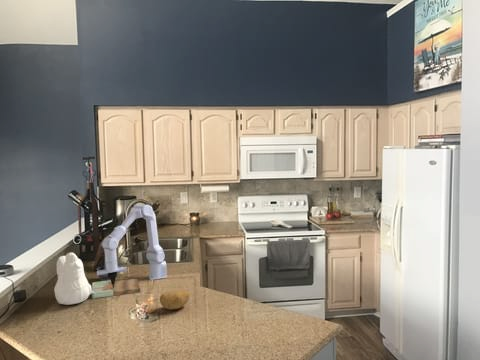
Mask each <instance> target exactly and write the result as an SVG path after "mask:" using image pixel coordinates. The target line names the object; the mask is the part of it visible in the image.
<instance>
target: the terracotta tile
mask: <svg viewBox="0 0 480 360" xmlns="http://www.w3.org/2000/svg"><path fill="white" fill-rule="evenodd" d="M112 287H113V285H112V283H111V281H109V282H108V283H107V284H106V285H105V286H104V287H103V290H104V291H107V290H109V289H111V288H112Z"/></svg>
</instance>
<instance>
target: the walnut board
mask: <svg viewBox="0 0 480 360" xmlns="http://www.w3.org/2000/svg"><path fill="white" fill-rule="evenodd" d="M137 293H141V287H140V284H139V280H138V278H131V279H125V280H124V279H123V280H115V283H114V287H113V295H114V296H113V297H116V296H123V295H129V294H130V295H131V294H137Z"/></svg>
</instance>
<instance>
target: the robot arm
mask: <svg viewBox="0 0 480 360" xmlns="http://www.w3.org/2000/svg"><path fill="white" fill-rule="evenodd" d="M153 209H154V208H153V207H152V206H151V205H149V204H139V203H136V204H134V205H133V207H131V209H130V212H129V213H128V214H127V216H126V217H125V218H124V220H123V221H122V223H121V225H117V226H115V227H114V229H113V231H111V233H110V234H108V235H109V236H108V235H107V236H108V238H106V237H104V238H105V239H104V238H103V239H104V240H103V239H102V240H103V243H102V247H103V248H104V251H105V264H106V269H104V270H100V271H96V276H97V277H99V275H103V274H108V277H109V279H110V280H111V283H112V285H113V287H114V283H115V281H116V279H117V277H118V273H124V272H127V271H128V270H127V268H128V267H127V266H121V267H120V266H118V258H117V257H118V255H117V248H118V247H119V243H120V241H121V239H122V238H123V237H124V236H125V235H126V233H127V229H128V227H130V226H131V224H132V223H133V222H135V220H136V219H140V218H143V220H145V223H146V224H145V225H146V232H147V240H148V241H147V242H148V247H147V248H146V255H145V256H146V259H147V260H148V263H149V274H148V279H149V280H150V281H153V280H159V279H167V278H168V275H167V273H168V270H167V269H168V267H167V262H166V260H165V257H166V256H165V252H164V249H163V247H161V245H160V244H159V233H158V226H157V225H158V224H157V217H156V213H155V212H154V210H153Z"/></svg>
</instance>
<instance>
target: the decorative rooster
mask: <svg viewBox="0 0 480 360" xmlns="http://www.w3.org/2000/svg"><path fill="white" fill-rule="evenodd" d="M84 269H85V268H84V264H83V261H82V259H80V258H79V257H78V256H77V255H76V253H74V252H72V251H71V252H68V253H66V255H61V256H59V257H58V259H57V261H56V275H57V280H56V283H55V286H54V289H53V290H54V295H55V296H54V297H55V299H56V301H57V303H58V304H60V305H66V306H67V305H68V306H69V305H70V306H71V305H75V304H80V303H81V302H84V301H86V300H87V299H88V298H89V297H90V295H92V285H91V284H90V283H89V280H88V279H87V277H86V274H85V270H84Z"/></svg>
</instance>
